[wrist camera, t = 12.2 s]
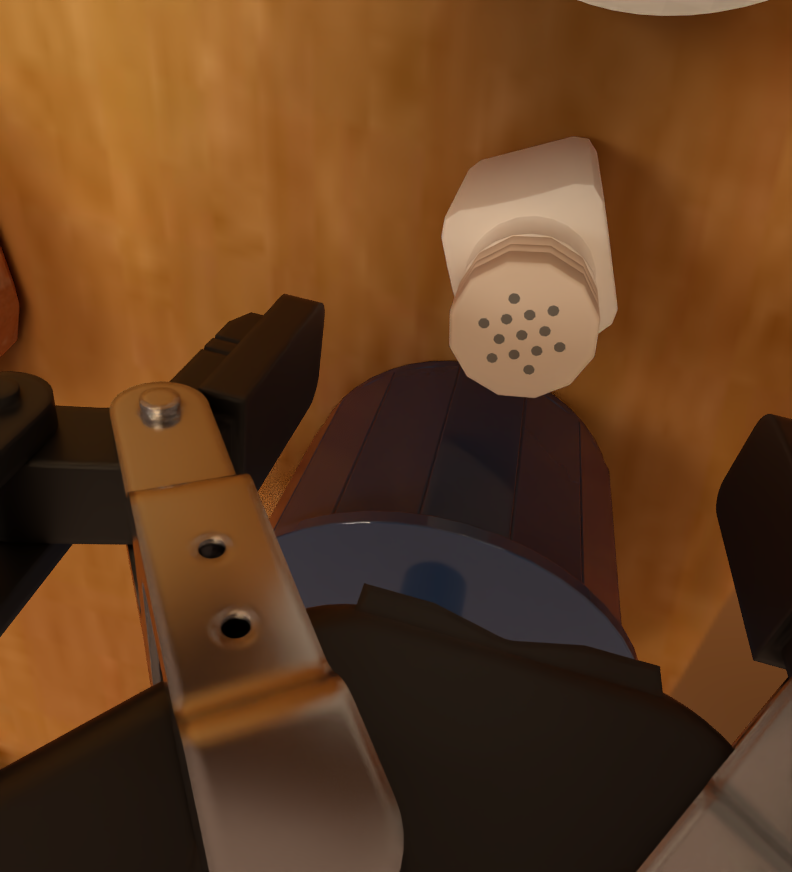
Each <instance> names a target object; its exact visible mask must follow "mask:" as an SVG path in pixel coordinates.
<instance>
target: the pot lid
mask: <svg viewBox="0 0 792 872" xmlns="http://www.w3.org/2000/svg"><path fill="white" fill-rule="evenodd" d="M274 533H275V535H276V538H277V540H278V543H279V545H280V548H281V550H282V553H283V555H284V557H285V560H286V562H287V565H288V567H289V570H290V572H291V575H292V577H293V579H294V582H295V584H296V587H297V589H298V592H299V594H300V597H301V599H302V602H303V604H304V606H305V608H309V607H315V606H321V605H330V604H357V602H358V599H359V596H360V594H361V591H362V588H363V585H364V583H366V584H369V585H373V586H376V587H380V588H383V589H387V590H390V591H394V592H397V593H401V594H405V595H408V596H412V597H415V598H419V599H422V600H426V601H429V602H433V603H436V604H438V605H440V606H441V607H443V608H445V609H447V610H449V611H451V612H453V613H455V614H457V615H459V616H461V617H463V618H465V619H467V620H469V621H471V622H472V623H474V624H476V625H478V626H480V627H482V628H484V629H486V630H488V631H490V632H492V633H494V634H496V635H498V636H500V637H502V638H504V639H508V640H512V641H524V642H540V643H556V644H572V645H586V646H589V647H593V648H596V649H600V650H603V651H607V652H610V653H614V654H618V655H621V656H625V657H628V658H632V659H635V660H638V659H637V656H636V653H635V650H634V647H633V645H632V643H631V642H630V640H629V638H628V636H627V634H626V633H625V631H624V629H623V627H622V626H621V624H620V623H619V622H618V620H617V619H616V618H615V617H614V615H613V614H612V613H611V611H610V610H609V609H608V608H607V606H606V605H605V604H604V603H603V602H602V601H601V600H600V599H599V598H598V597H597V596H596V595H595V594H594V593H593V592H592V591H591V590H590V589H589V588H588V587H586V586H585V585H584V584H583V583H582V582H580V581H579V580H578V579H576V578H575V577H574V576H572V575H571V574H570V573H568V572H567V571H566V570H564V569H563V568H562V567H561V566H559V565H557V564H556V563H554V562H552V561H551V560H549V559H547V558H545V557H544V556H542V555H540V554H539V553H537V552H535V551H534V550H532V549H530V548H528V547H525V546H523V545H521V544H519V543H517V542H515V541H512V540H510V539H508V538H506V537H504V536H501V535H499V534H496V533H493V532H490V531H487V530H484V529H481V528H478V527H475V526H472V525H469V524H466V523H462V522H458V521H453V520H449V519H445V518H440V517H436V516H431V515H423V514H416V513H408V512H401V511H371V510H366V511H353V512H340V513H333V514H328V515H323V516H317V517H312V518H308V519H305V520H302V521H299V522H296V523H293V524H290V525H287V526H284V527H282V528H280V529H278V530H276V531H274Z"/></svg>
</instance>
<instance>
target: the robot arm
mask: <svg viewBox="0 0 792 872" xmlns="http://www.w3.org/2000/svg"><path fill="white" fill-rule="evenodd" d="M324 316H325V310H324V305H323V303H320V302H316V301H312V300H308V299H304V298H299V297H295V296H291V295H287V294H283V295H282V296H281V297H280V298H279V299H278V300H277V301H276V302H275V303H274V305H273V306H272V307H271V308H270V309H269V310H268V311H267V312H266V313H265V314H264V315H260V314H256V313H252V312H251V313H249V314H246V315H244V316H241V317H239V318H236V319H234V320H232V321H229V322H228V323H227V324H226V325H225V326H224V327H223V328H222V329H221V330H220V331H219V332H218V333H217V334H216V335H215V338H212V339H211V340H210V341H209V342H208V343H207V344H206V345H205V347H204V350H203V349H201V350H200V351H199V352H198V353H197V354H196V355H195V356H194V357H193V358H192V359H191V360H190V361H189V362H188V364H187V365H186V366H185V367H184V368H183V369H182V370H181V371H180V372H179V373H178V374H177V375H176V376H175V377H174V378H173V379H172V380H171V381H170V382H150V383H144V384H140V385H136V386H133V387H131V388H128V389H127V390H125V391H123V392H121V393H120V394H119V395H117V396H116V397H115V398H114V400H113V401H112V403H111V405H110V408H93V407H73V406H55V401H54V396H53V390H52V388H51V386H50V385H49V384H48V383H47V382H46V381H45V380H43V379H42V378H40V377H37V376H35V375H32V374H28V373H22V372H12V371H7V372H0V637H1V635H2V634H3V633H4V632H5V630H6V629H7V628H8V626H9V625H10V624H11V623H12V621H13V620H14V619H15V617H16V616H17V615H18V614H19V612H20V611H21V610H22V608H23V607H24V606H25V605H26V603H27V602H28V601H29V599H30V598H31V597H32V596H33V594H34V593H35V592H36V590H37V589H38V588H39V587H40V585H41V584H42V583H43V581H44V580H45V579H46V578H47V576H48V575H49V574H50V572H51V571H52V570H53V569H54V567H55V566H56V565H57V563H58V562H59V561H60V560H61V558H62V557H63V556H64V554H65V553H66V552H67V551H68V549H69V548H70V547H71V545H72V544H126V548H127V553H128V559H129V564H130V569H131V575H132V580H133V585H134V591H135V596H136V602H137V607H138V612H139V618H140V623H141V628H142V634H143V640H144V646H145V652H146V659H147V666H148V673H149V679H150V685H151V687H150V688H148V689H146V690H144V691H142V692H141V693H139V694H137V695H135V696H133V697H131V698H130V699H128V700H126V701H124V702H122V703H120V704H119V705H117V706H115V707H113V708H111V709H110V710H108V711H106V712H104V713H102V714H100V715H99V716H97V717H95V718H93V719H91V720H90V721H88V722H86V723H84V724H82V725H80V726H79V727H77V728H75V729H73V730H71V731H70V732H68V733H66V734H64V735H62V736H60V737H59V738H57V739H55V740H53V741H51V742H50V743H48V744H46V745H44V746H42V747H40V748H39V749H37V750H35V751H33V752H31V753H30V754H28V755H26V756H24V757H22V758H20V759H19V760H17V761H15V762H13V763H11V764H10V765H8V766H6V767H4V768H2V769H0V872H792V419H789V418H785V417H781V416H777V415H773V414H767V415H765V416H763V417H762V418H761V419H760V420H759V421H758V423H757V424H756V426H755V427H754V429H753V431H752V432H751V434H750V436H749V437H748V439H747V441H746V443H745V444H744V446H743V448H742V449H741V451H740V453H739V454H738V456H737V458H736V460H735V461H734V463H733V465H732V466H731V468H730V470H729V471H728V473H727V475H726V477H725V478H724V480H723V482H722V484H721V487H720V489H719V493H718V497H717V503H716V513H717V518H718V522H719V526H720V530H721V534H722V538H723V541H724V545H725V549H726V553H727V557H728V561H729V565H730V569H731V573H732V577H733V581H734V585H735V589H736V593H737V597H738V601H739V605H740V609H741V613H742V617H743V621H744V625H745V629H746V633H747V637H748V641H749V645H750V649H751V653H752V657H753V660H754V661H758V662H762V663H765V664H768V665H772V666H776V667H779V668H783V669H786V671H787V674H788V678H787V679H786V680H785V681H784V682H783V684H782V685H781V686H780V687H779V688H778V689H777V691H776V692H775V693H774V694H773V695H772V697H771V698H770V699H769V700H768V701H767V703H766V704H765V705H764V706H763V708H762V709H761V710H760V711H759V712H758V713H757V715H756V716H755V717H754V718H753V720H752V721H751V722H750V723H749V724H748V726H747V727H746V728H745V729H744V730H743V732H742V733H741V734H740V735H739V736H738V738H737V739H736V740H735V741H734V743H733V744H732V745H730V744H729V742H728V741H727V740H726V739H725V738H724V737H723V736H722V735H721V734H720V733H719V732H717V731H716V730H715V729H714V728H713V727H712V726H711V725H709V724H708V723H707V722H706V721H705V720H704V719H702V718H701V717H700V716H698V715H697V714H696V713H694V712H693V711H692V710H690V709H689V708H688V707H686V706H684V705H683V704H681V703H680V702H678V701H677V700H675V699H673V698H672V697H670V696H668V695H666V694H664V693H663V691H662V682H661V674H660V666H657V665H653V664H649V663H646V662H642V661H639V660H635V659H632V658H628V657H625V656H621V655H618V654H614V653H610V652H607V651H603V650H600V649H596V648H593V647H589V646H586V645H572V644H556V643H540V642H524V641H512V640H508V639H504V638H502V637H500V636H498V635H496V634H494V633H492V632H490V631H488V630H486V629H484V628H482V627H480V626H478V625H476V624H474V623H472V622H471V621H469V620H467V619H465V618H463V617H461V616H459V615H457V614H455V613H453V612H451V611H449V610H447V609H445V608H443V607H441V606H440V605H438V604H436V603H433V602H429V601H426V600H422V599H419V598H415V597H412V596H408V595H405V594H401V593H397V592H394V591H390V590H387V589H383V588H380V587H376V586H373V585H369V584H366V583H364V585H363V588H362V591H361V594H360V596H359V599H358V602H357V604H330V605H321V606H315V607H309V608H305V606H304V604H303V602H302V599H301V597H300V594H299V592H298V589H297V587H296V584H295V582H294V579H293V577H292V575H291V572H290V570H289V567H288V565H287V562H286V560H285V557H284V555H283V553H282V550H281V548H280V545H279V543H278V540H277V538H276V535H275V533H274V531H273V528H272V526H271V523H270V521H269V518H268V516H267V513H266V511H265V509H264V506H263V504H262V501H261V499H260V496H259V494H258V490H259V488H260V487H261V485H262V484H263V482H264V480H265V479H266V477H267V475H268V474H269V472H270V471H271V469H272V467H273V466H274V464H275V462H276V461H277V459H278V457H279V456H280V454H281V453H282V451H283V449H284V448H285V446H286V444H287V443H288V441H289V440H290V438H291V436H292V435H293V433H294V431H295V430H296V428H297V426H298V425H299V423H300V422H301V420H302V418H303V417H304V415H305V413H306V412H307V410H308V409H309V407H310V405H311V403H312V400H313V397H314V394H315V391H316V387H317V383H318V377H319V367H320V357H321V347H322V337H323V327H324Z"/></svg>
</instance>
